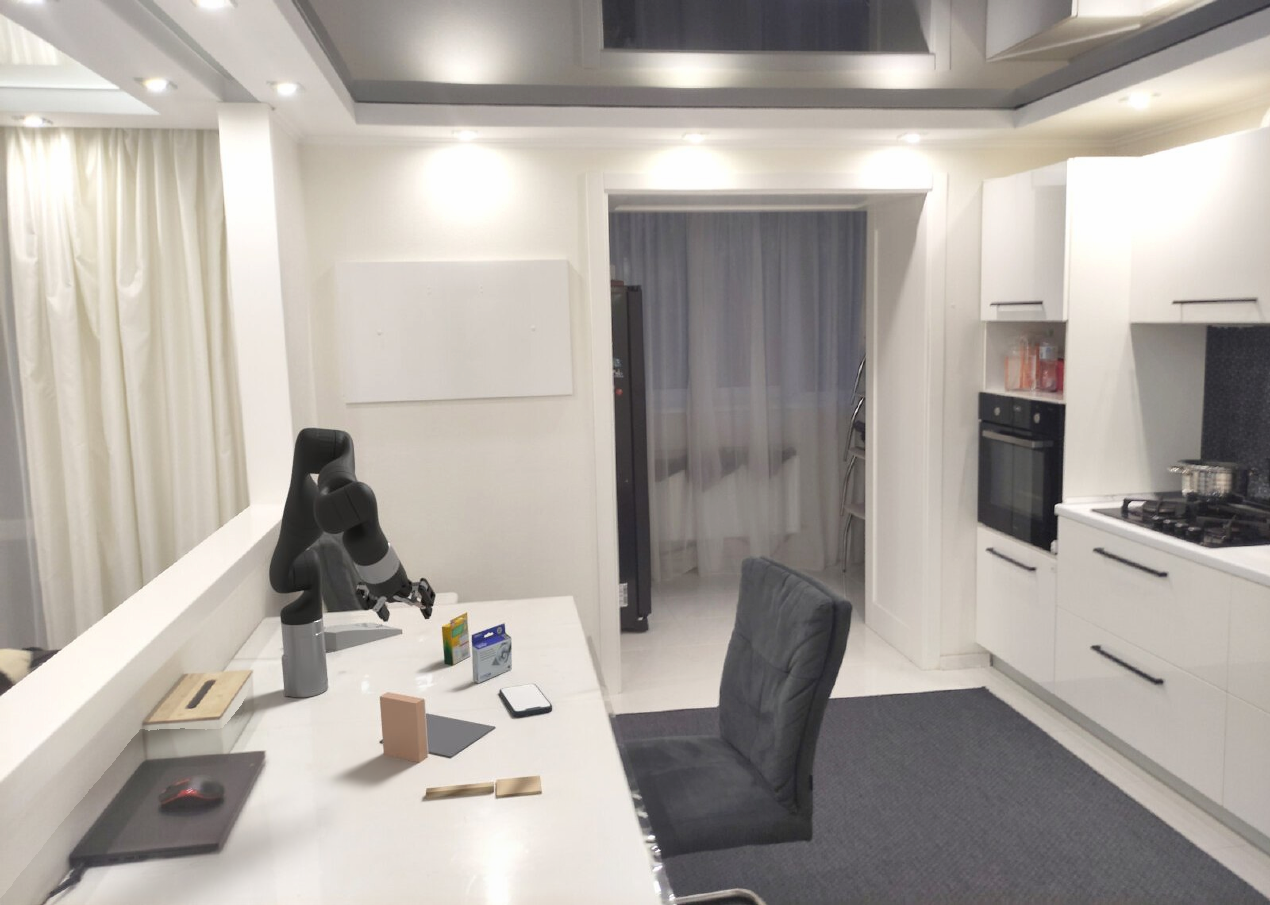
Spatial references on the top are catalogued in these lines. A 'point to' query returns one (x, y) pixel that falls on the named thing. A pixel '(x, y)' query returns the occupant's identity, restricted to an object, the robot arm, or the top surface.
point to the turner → (491, 788)
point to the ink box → (491, 653)
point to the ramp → (356, 635)
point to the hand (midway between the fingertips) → (407, 616)
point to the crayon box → (456, 640)
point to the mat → (452, 734)
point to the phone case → (525, 700)
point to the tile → (404, 726)
